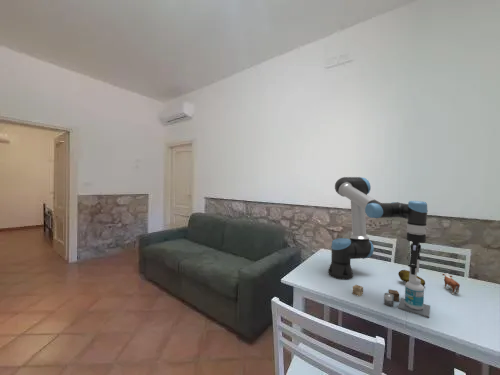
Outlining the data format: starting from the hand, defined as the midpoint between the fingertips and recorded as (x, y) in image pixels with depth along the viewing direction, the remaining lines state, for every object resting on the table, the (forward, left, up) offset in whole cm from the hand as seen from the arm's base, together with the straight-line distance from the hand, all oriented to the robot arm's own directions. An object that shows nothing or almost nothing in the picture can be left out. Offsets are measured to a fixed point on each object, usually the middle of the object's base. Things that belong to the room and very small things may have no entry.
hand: (414, 276), depth 113 cm
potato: (-3, +30, -16) cm, 34 cm away
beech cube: (-25, -3, -16) cm, 29 cm away
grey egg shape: (-10, -5, -16) cm, 19 cm away
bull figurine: (+14, +36, -16) cm, 42 cm away
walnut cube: (-9, +3, -16) cm, 18 cm away
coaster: (0, 0, -16) cm, 16 cm away
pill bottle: (0, 0, -15) cm, 15 cm away
